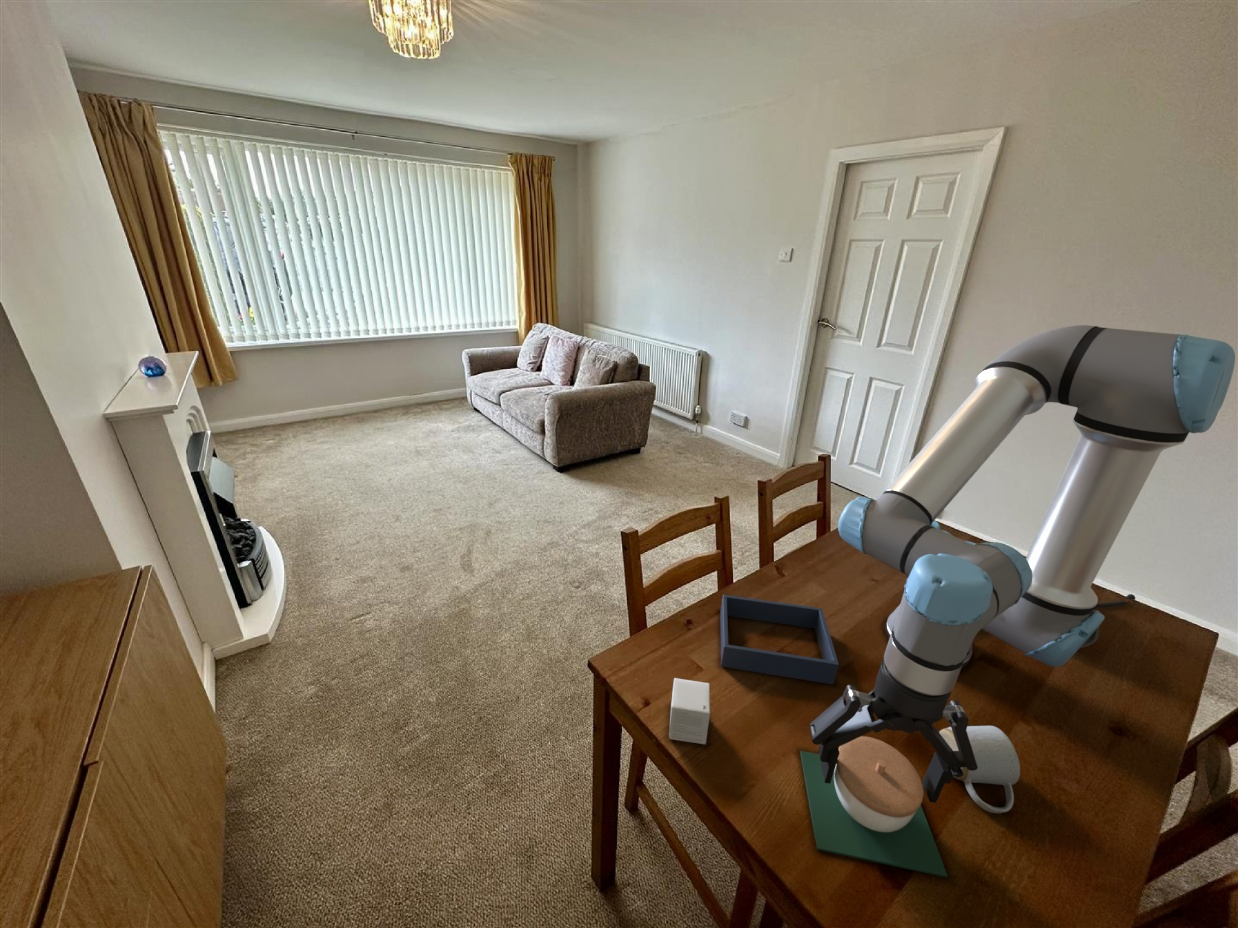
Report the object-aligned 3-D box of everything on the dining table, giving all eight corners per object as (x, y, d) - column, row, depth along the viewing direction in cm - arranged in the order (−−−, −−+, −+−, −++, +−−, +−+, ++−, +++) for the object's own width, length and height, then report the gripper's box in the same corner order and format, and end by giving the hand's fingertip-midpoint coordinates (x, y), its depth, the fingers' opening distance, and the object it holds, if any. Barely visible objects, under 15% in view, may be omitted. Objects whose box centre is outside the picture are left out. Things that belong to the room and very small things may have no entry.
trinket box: (920, 857, 63) (941, 813, 60) (834, 837, 65) (849, 794, 61) (894, 778, 73) (911, 735, 69) (820, 763, 75) (832, 721, 71)
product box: (706, 713, 83) (710, 682, 80) (706, 746, 77) (710, 714, 74) (670, 707, 84) (673, 676, 81) (668, 739, 78) (671, 707, 75)
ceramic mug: (927, 746, 78) (941, 713, 75) (976, 747, 78) (993, 715, 75) (969, 816, 69) (988, 782, 66) (1026, 817, 69) (1048, 784, 66)
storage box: (817, 626, 103) (821, 608, 101) (833, 684, 89) (839, 664, 87) (720, 612, 107) (722, 594, 105) (721, 666, 92) (724, 646, 90)
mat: (907, 772, 74) (908, 770, 74) (946, 877, 62) (947, 875, 62) (800, 752, 77) (800, 750, 77) (816, 849, 64) (817, 847, 64)
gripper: (1013, 664, 60) (961, 773, 69) (805, 635, 64) (781, 742, 73) (1050, 716, 53) (987, 830, 62) (815, 681, 57) (787, 792, 66)
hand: (876, 783), depth 67 cm, fingers open, 13 cm apart
